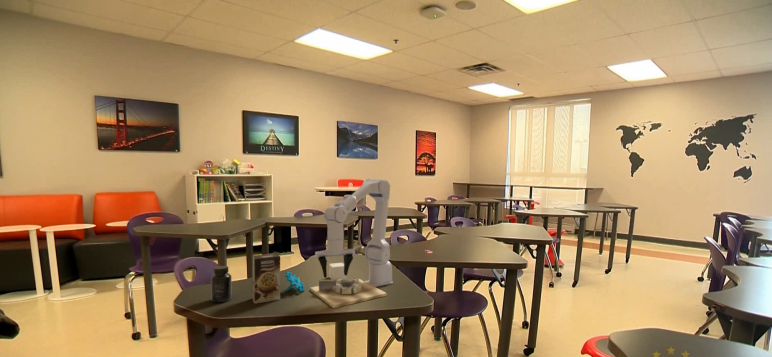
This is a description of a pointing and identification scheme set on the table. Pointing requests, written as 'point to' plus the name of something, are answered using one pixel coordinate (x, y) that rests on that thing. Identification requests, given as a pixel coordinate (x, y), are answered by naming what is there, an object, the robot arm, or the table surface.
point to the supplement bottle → (221, 285)
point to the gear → (294, 282)
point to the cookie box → (266, 278)
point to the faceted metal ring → (340, 286)
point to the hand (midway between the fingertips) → (335, 275)
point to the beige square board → (346, 299)
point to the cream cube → (336, 271)
